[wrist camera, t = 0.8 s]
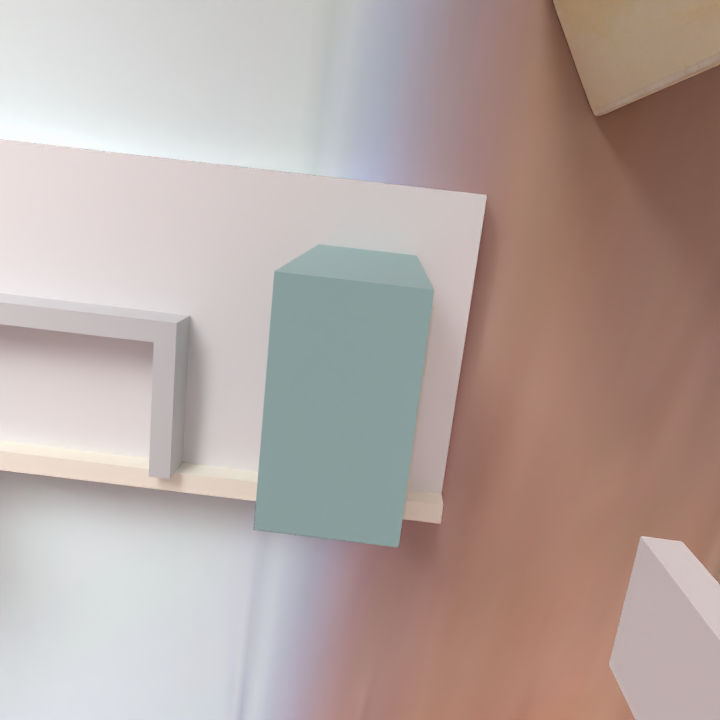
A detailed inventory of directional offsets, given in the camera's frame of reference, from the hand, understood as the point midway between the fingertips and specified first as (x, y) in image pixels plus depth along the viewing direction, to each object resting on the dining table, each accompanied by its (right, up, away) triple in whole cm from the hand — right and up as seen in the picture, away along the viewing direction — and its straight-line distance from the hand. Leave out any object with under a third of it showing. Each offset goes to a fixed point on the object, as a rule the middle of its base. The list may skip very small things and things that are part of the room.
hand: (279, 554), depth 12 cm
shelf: (-12, +6, +21) cm, 24 cm away
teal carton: (+1, +5, +19) cm, 19 cm away
